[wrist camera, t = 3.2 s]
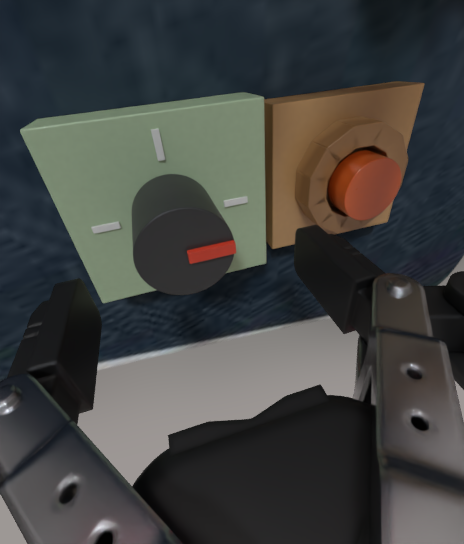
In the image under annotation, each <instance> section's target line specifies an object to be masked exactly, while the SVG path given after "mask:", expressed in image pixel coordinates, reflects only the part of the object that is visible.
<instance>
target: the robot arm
mask: <svg viewBox="0 0 464 544" xmlns="http://www.w3.org/2000/svg"><path fill="white" fill-rule="evenodd" d="M294 266H295V270H296V273H297V275H298V276H299V278H300V279H301V280H302V281H303V283H304V284H305V285H306V287H307V288H308V289H309V290H310V292H311V293H312V294H313V295H314V297H315V298H316V299H317V301H318V302H319V303H320V304H321V306H322V307H323V308H324V309H325V311H326V312H327V313H328V315H329V316H330V317H331V318H332V320H333V321H334V322H335V323H336V325H337V326H338V327H339V328H340V330H341V331H342V332H343V334H346V333H349V332H352V331H355V330H356V331H357V332H358V333H359V338H358V347H357V364H356V380H355V389H354V395H353V398H349V397H344V396H334V395H326V393H325V391H324V389H323V388H322V386H321V385H317V386H315V387H312V388H308V389H305V390H302V391H300V392H296V393H293V394H290V395H287V396H285V397H283V398H282V399H281V400H279V401H277V402H276V403H275V404H273V405H272V406H270V407H269V408H267V409H266V410H264V411H263V412H261V413H260V414H258V415H257V416H255V417H253V418H251V419H244V420H228V421H213V422H206V423H203V424H200V425H197V426H194V427H191V428H188V429H185V430H182V431H179V432H176V433H173V434H170V435H168V437H169V449H167V450H166V451H164V452H163V453H162V454H160V455H159V456H158V457H157V458H156V459H154V460H153V461H152V462H151V463H150V464H149V465H148V467H147V468H146V469H145V470H144V471H143V472H142V473H141V475H140V476H139V477H138V478H137V480H136V481H135V483H134V485H133V486H131V485H130V484H129V483H128V482H127V480H126V479H125V478H124V477H123V476H122V475H121V474H120V473H119V472H118V470H117V469H116V468H115V467H114V466H113V465H112V464H111V463H110V461H109V460H108V459H107V458H106V457H105V456H104V455H103V454H102V453H101V452H100V450H99V449H98V448H97V447H96V446H95V445H94V444H93V443H92V441H91V440H90V439H89V438H88V437H87V436H86V435H85V434H84V432H83V431H82V430H81V429H80V428H79V427H78V426H77V423H78V416H79V413H83V412H86V411H89V410H92V409H93V403H94V392H95V384H96V375H97V365H98V356H99V347H100V337H101V328H102V323H101V317H100V314H99V311H98V309H97V307H96V305H95V303H94V301H93V299H92V297H91V295H90V293H89V292H88V290H87V288H86V286H85V284H84V282H83V281H82V280H81V279H74V280H70V281H66V282H61V283H57V284H55V286H54V288H53V291H52V294H51V297H50V300H49V301H45V302H42V303H41V304H40V305H39V307H38V308H37V309H36V310H35V311H34V312H33V313H32V315H31V317H30V320H29V323H28V325H27V329H26V330H25V333H24V335H23V340H22V341H21V343H20V346H19V348H18V351H17V353H16V356H15V359H14V361H13V364H12V366H11V369H10V371H9V374H8V377H7V378H6V379H4V380H2V381H0V495H1V496H2V498H3V499H4V501H5V503H6V505H7V506H8V509H9V511H10V512H11V514H12V516H13V518H14V520H15V522H16V523H17V525H18V527H19V529H20V531H21V533H22V534H23V536H24V538H25V540H26V542H27V544H464V422H463V418H462V413H461V409H460V404H459V399H458V395H457V391H456V386H455V382H454V380H455V381H456V382H457V383H458V384H459V385H460V386H461V387H462V388H463V389H464V271H461V272H457V273H454V274H452V275H451V276H450V279H449V280H448V283H447V285H446V286H422V285H421V284H420V283H419V282H417V281H416V280H414V279H412V278H410V277H408V276H405V275H401V274H395V273H388V274H386V273H384V272H383V271H382V270H381V269H380V268H378V267H377V266H376V265H375V264H373V263H372V262H371V261H370V260H369V259H367V258H366V257H365V256H364V255H363V254H360V252H359V251H358V250H357V249H355V248H353V247H352V245H351V244H349V243H348V242H347V241H346V240H345V239H343V238H341V237H338V236H336V235H333V234H328V233H327V232H325V231H324V230H323V229H322V228H321V227H320V226H318V225H316V224H315V225H311V226H307V227H302V228H298V229H297V230H296V233H295V251H294Z"/></svg>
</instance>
